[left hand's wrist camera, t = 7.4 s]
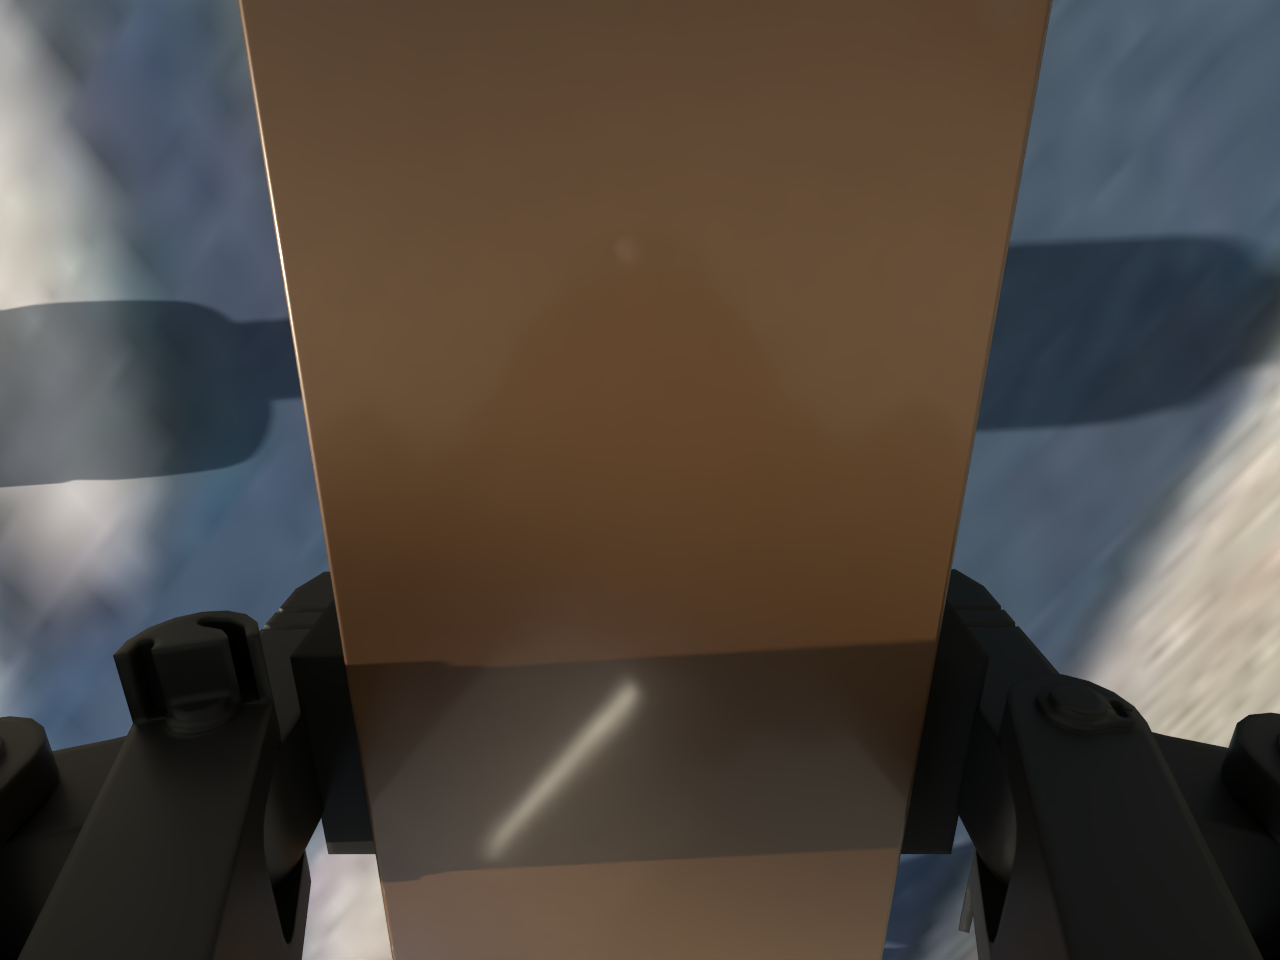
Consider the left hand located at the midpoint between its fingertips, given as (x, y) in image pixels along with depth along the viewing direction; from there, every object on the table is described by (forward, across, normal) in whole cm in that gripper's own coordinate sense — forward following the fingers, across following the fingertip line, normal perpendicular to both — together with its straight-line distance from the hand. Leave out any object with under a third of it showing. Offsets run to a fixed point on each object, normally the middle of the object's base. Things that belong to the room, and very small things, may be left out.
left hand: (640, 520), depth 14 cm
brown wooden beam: (0, 0, -23) cm, 23 cm away
